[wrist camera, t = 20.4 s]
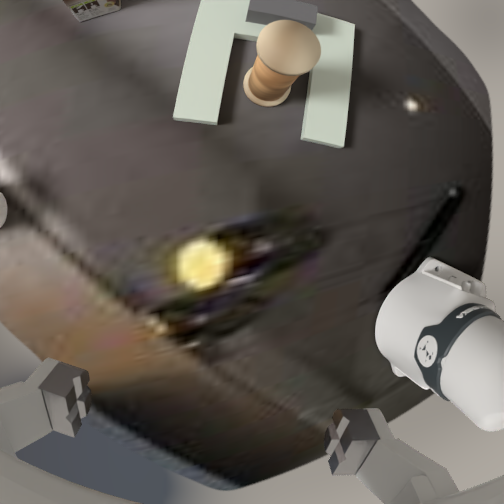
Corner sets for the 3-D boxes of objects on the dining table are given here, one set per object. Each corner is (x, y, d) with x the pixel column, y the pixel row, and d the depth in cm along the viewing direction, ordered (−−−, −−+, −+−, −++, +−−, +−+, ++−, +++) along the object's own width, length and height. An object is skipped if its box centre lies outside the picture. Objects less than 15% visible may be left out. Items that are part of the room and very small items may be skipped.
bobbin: (291, 70, 35) (323, 28, 23) (286, 110, 36) (318, 79, 24) (246, 62, 34) (262, 14, 23) (240, 102, 35) (253, 66, 23)
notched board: (350, 28, 35) (363, 15, 30) (339, 148, 37) (354, 143, 33) (203, -2, 32) (203, -20, 27) (174, 120, 35) (169, 110, 30)
